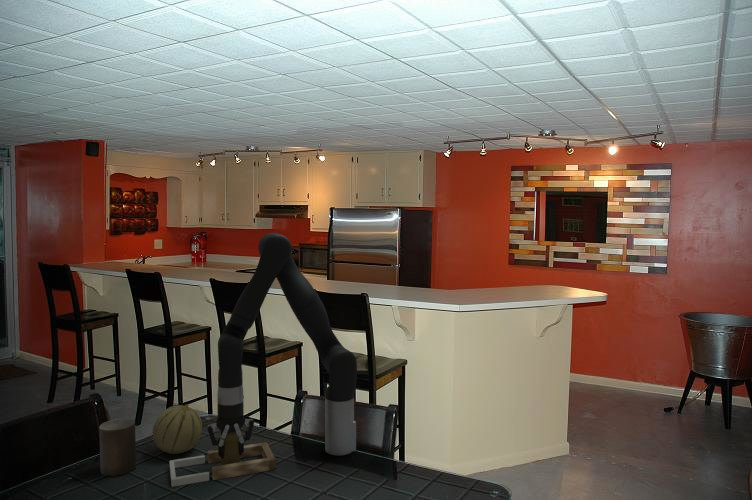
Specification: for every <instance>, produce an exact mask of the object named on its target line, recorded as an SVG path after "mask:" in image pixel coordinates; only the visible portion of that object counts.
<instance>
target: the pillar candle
mask: <svg viewBox="0 0 752 500" xmlns="http://www.w3.org/2000/svg"><path fill="white" fill-rule="evenodd" d="M98 429H99V458H100V460H99V461H100V474H101V475H102V476H105V477H114V476H115V477H117V476H122V475H126V474H129V473H131V472H132V471H134V470H135V469H136V468H137V442H136V441H137V439H136V421H135V419H133V418H115V419H109V421H105V422H102V423H101V424H100V425H99V427H98Z"/></svg>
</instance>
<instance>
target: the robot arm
mask: <svg viewBox="0 0 752 500" xmlns="http://www.w3.org/2000/svg"><path fill="white" fill-rule="evenodd" d="M257 245H258V246H257V248H258V250H257V251H258V254H259V259H258V260H259V261H258V262H257V266H256V269H255V271H254V273H253V275H252V277H251V279H250V280H249V282H248V283H247V285H246V286H245V287H244V289H243V291H242V293H241V294H240V296H239V297H238V300H236V301H237V302H236V303H235V306H234V308H233V309H232V312H231V315H230V317H229V320H228V321H227V323H226V324H225V326H224V328H223V329H222V332H221V333H220V336H219V338H218V340H217V356H218V357H217V358H218V371H217V372H218V373H217V375H218V376H217V382H218V383H217V385H218V386H217V399H216V400H217V419H216V421H215V422H214V423H208V424H206V428H207V432H208V434H209V438H210V441H211V445H212V446H214V447H215V446H217V450H218V455H219V457H221V458H224V446H223V445H224V439H225V437H226V435H227V433H230V432H236V433H237V435H238V437H239V440H238V445H239V455H242V453H243V452H244V446H245V442H247V441H250V440H251V436H252V433H253V429H254V426H255V421H254V419H253V418H245V415H244V413H245V412H244V407H245V405H244V404H245V403H244V399H245V395H244V387H243V381H244V380H243V377H244V376H243V356H244V352H243V351H244V349H243V346H244V345H243V342H244V340H245V337H246V336H247V334H248V331H249V330H250V329H251V328H252V327H253V325H254V324H255V321H256V319H257V317H258V314H259V312H260V311H261V308H262V306H263V304H264V302H265V299H266V297H267V294H268V293H269V290H270V289H271V287H272V285H273V283H274V281H275V280H277V282H278V283H279V286H280V288H281V291H282V292H283V295H284V297H285V299H286V302H287V304H288V305H289V307H290V308H291V311H292V313H293V314H294V316H295V318H296V319H297V321H298V322H299V324H300V325H301V327H302V328H303V330H304V331H305V333H306V334H307V335H308V337H309V339H310V340H311V341H312V343H313V345H314V347H315V349H316V351H317V354H318V357H319V358H320V361H321V363H322V366H323V367H324V369H325V370H326V371H327V372H328V373H329V374H328V386H327V387H326V388H325V392H324V395H325V396H324V400H325V401H324V404H325V405H324V409H325V410H324V411H325V412H324V422H325V423H324V424H325V425H324V440H325V441H324V448H325V449H324V450H325V452H326V453H327V454H329V455H332V456H345V455H349V454H352V453H353V452H356V451H357V421H356V420H355V392H356V389H357V376H358V375H357V374H358V361H357V358H356V355H355V354H354V353H353V352H352V351H350V350H348V349H347V348H345V347H344V345H342V343H341V342H340V340H339V339H338V338H337V336H336V335H335V332H334V331H333V329H332V326H331V323H330V320H329V315H328V313H327V310H326V307H325V305H324V303H323V302H322V300H321V298H320V296H319V295H318V292H317V291H316V290H315V288H314V287H313V286H312V284H311V283H310V282H309V280H308V279H307V278H306V276H305V275H304V274H303V273H302V272H301V270H300V268H299V267H298V266H297V264H296V262H295V260H294V258H293V255H292V251H293V247H292V243H291V241H290V239H289V238H287V236H285V235H283V234H280V233H276V232H270V233H266V234H264V235H263V236H262V237H261V238H260V239H259V241H258V244H257ZM244 425H245V426H246V430H245V433H244V435H243V433H242V432H241V429H242V427H243V426H244ZM216 428H218V429H219V431H220V432H219V437H218V439H216V436H215V433H214V432H216Z"/></svg>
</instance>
